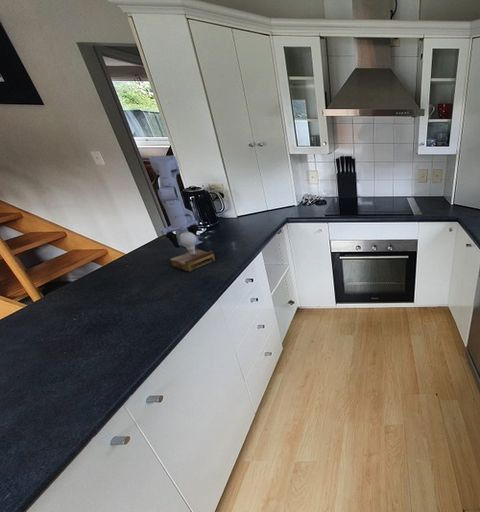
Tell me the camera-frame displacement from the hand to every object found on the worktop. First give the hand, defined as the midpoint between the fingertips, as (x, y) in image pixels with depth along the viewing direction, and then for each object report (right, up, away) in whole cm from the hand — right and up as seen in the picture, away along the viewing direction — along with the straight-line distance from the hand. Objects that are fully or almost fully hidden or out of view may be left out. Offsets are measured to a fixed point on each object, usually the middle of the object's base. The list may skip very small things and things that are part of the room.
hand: (186, 244), depth 123 cm
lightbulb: (+3, -5, +1) cm, 6 cm away
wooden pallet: (+3, -9, +1) cm, 9 cm away
